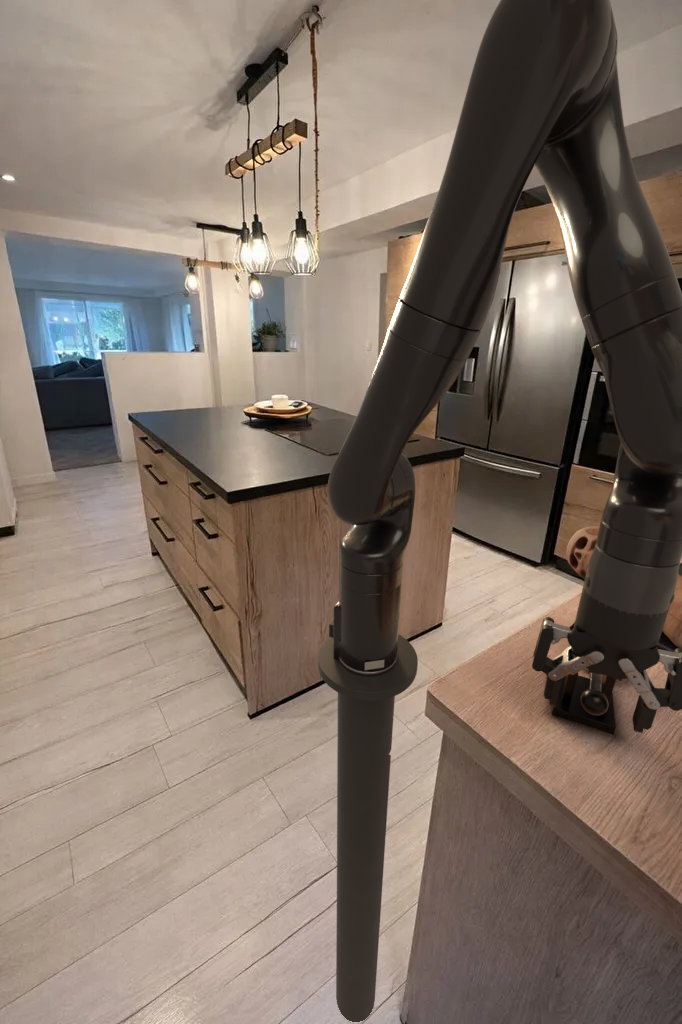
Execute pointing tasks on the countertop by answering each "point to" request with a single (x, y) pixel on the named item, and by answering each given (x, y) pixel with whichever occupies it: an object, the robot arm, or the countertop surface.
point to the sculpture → (678, 622)
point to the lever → (594, 696)
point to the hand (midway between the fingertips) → (592, 713)
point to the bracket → (573, 710)
